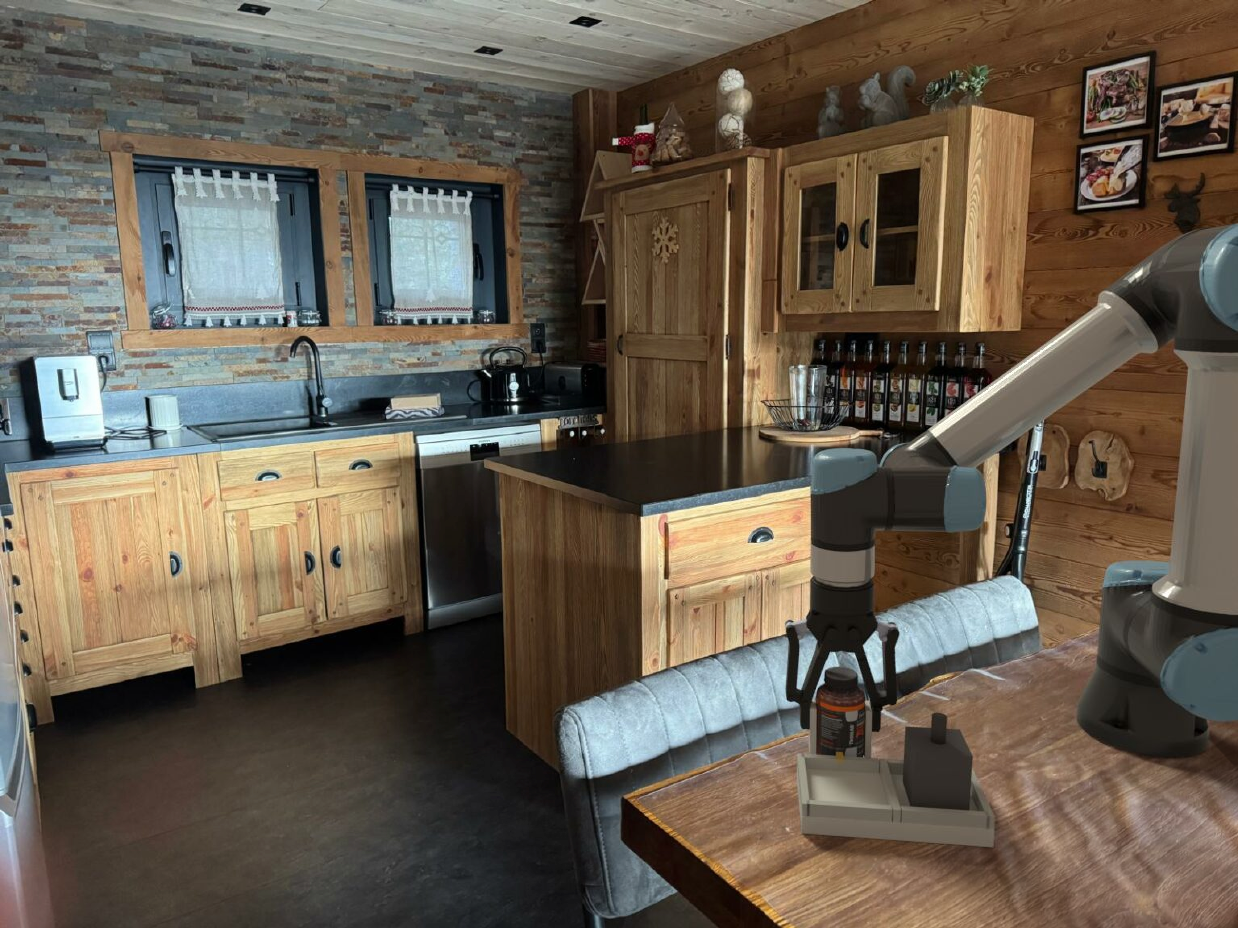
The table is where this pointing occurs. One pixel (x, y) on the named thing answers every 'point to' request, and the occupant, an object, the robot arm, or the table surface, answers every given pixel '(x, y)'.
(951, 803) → the single-knob plug
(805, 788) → the free socket
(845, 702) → the supplement bottle
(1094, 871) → the table surface
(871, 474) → the robot arm
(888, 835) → the two-section tray
